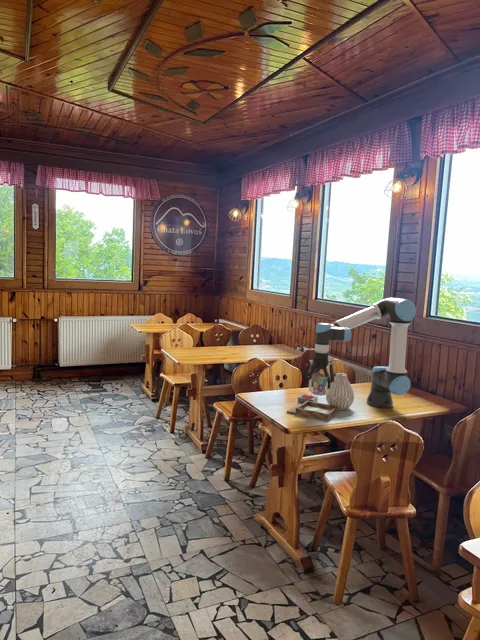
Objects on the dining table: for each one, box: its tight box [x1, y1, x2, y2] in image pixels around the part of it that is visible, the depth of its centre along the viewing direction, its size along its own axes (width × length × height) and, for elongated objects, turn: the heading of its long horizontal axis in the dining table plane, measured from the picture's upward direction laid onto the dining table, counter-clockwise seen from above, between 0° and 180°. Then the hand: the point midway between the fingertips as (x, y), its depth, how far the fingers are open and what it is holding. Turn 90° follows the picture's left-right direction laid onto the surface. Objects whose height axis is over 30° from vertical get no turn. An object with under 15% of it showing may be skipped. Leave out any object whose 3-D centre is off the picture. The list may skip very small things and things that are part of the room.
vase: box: [325, 372, 355, 411], centre depth 267 cm, size 16×16×20 cm
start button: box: [303, 393, 313, 399], centre depth 274 cm, size 5×5×4 cm
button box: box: [297, 393, 319, 404], centre depth 274 cm, size 9×9×4 cm
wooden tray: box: [286, 401, 339, 422], centre depth 256 cm, size 23×18×4 cm
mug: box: [310, 372, 328, 397], centre depth 254 cm, size 12×9×11 cm
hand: (318, 392), depth 254 cm, fingers closed on mug, 9 cm apart
